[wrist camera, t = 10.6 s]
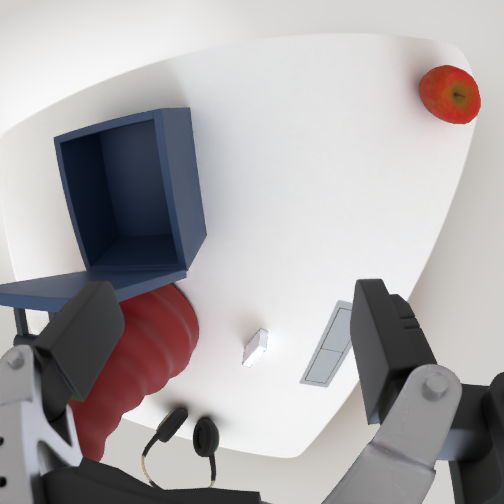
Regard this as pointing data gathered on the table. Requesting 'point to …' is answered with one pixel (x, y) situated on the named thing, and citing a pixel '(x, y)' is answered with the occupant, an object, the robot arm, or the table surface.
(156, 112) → the box
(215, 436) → the headphones
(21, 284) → the lid
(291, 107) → the table surface
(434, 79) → the apple
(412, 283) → the table surface
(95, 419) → the table lamp
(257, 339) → the eraser
